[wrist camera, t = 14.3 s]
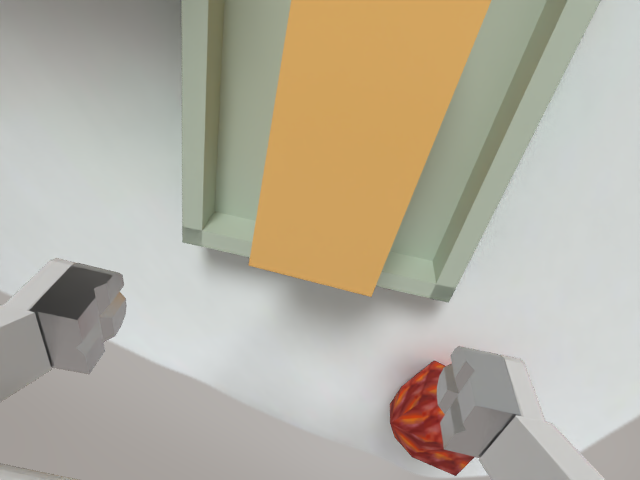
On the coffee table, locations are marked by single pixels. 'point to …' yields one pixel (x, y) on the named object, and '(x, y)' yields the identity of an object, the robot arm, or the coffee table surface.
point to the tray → (444, 158)
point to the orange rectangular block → (355, 131)
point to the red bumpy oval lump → (424, 421)
